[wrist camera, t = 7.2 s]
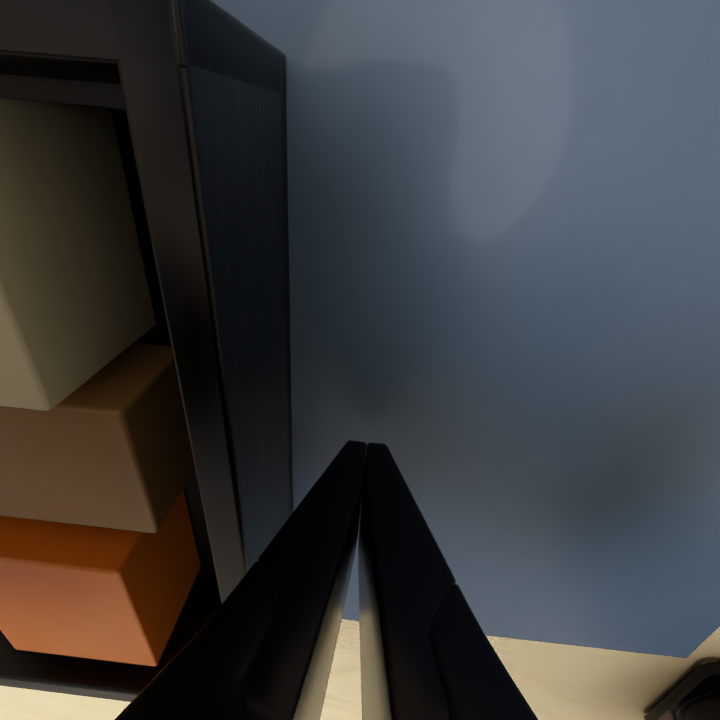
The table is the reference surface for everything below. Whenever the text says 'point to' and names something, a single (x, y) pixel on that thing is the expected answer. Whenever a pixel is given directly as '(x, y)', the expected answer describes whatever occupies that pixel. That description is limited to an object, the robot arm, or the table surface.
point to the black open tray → (136, 331)
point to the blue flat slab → (517, 293)
